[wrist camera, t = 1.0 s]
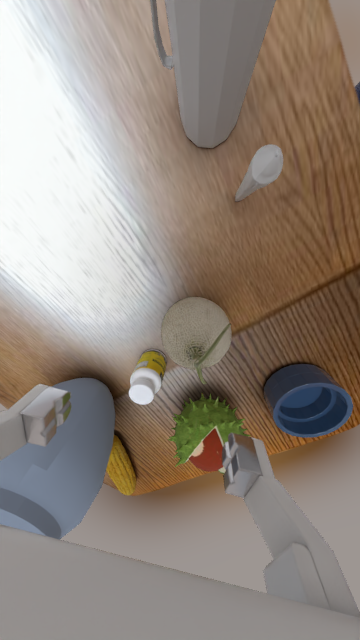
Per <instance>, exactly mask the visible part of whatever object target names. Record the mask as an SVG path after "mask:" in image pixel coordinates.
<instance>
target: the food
mask: <svg viewBox="0 0 360 640" xmlns="http://www.w3.org/2000/svg"><path fill="white" fill-rule="evenodd" d="M106 471H107V472H108V474H109V477H110V478H111V479H112V480H113V482H114V483H115V485H116V487H117V488H118V489H119V491H120V492H121V493H122V494H125V495H130V494H132V493H133V492H134V490H135V487H136V476H135V473H134V470H133V467H132V464H131V462H130V459H129V457H128V455H127V453H126V451H125V449H124V448H123V445H122V443H121V441H120V440H119V438H118V437H117V436H116V435H114V438H113V446H112V449H111V453H110V457H109V461H108V464H107V468H106Z"/></svg>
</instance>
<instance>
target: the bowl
mask: <svg viewBox="0 0 360 640" xmlns="http://www.w3.org/2000/svg"><path fill="white" fill-rule="evenodd" d="M264 398H265V401H266V403H267V405H268V408H269V410H270V412H271V414H272V417H273V419H274V421H275V423H276V425H277V426H278V427H279V428H280V429H281V430H282V431H284V432H285V433H288V434H290V435H293V436H297V437H317V436H322V435H326V434H328V433H331V432H333V431H335V430H337V429H338V428H339V427H341V426H342V425H343V424H344V423H345V422H346V421H347V420H348V418H349V417H350V415H351V413H352V408H353V403H352V400H351V397H350V395H349V394H348V393H347V392H346V391H345V390H344V389H343V388H342V387H341V386H340V385H339V384H338V383H337V382H336V381H335V380H334V379H333V378H332V377H331V376H330V375H329V374H328V373H327V372H326V371H325V370H323V369H321V368H319V367H317V366H315V365H309V364H296V365H290V366H287V367H285V368H282V369H280V370H279V371H277V372H276V373H274V374H273V375H272V376H271V377H270V378H269V379H268V381H267V382H266V385H265V387H264Z"/></svg>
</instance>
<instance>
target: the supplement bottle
mask: <svg viewBox="0 0 360 640" xmlns="http://www.w3.org/2000/svg"><path fill="white" fill-rule="evenodd" d="M166 364H167V360H166V357H165V355H164V354H163V353H162V352H161V351H159V350H156V349H150V350H147V351H145V352H144V353H143V354H142V356H141V357H140V359H139V361H138V363H137V365H136V367H135V369H134V371H133V373H132V375H131V378H130V384H131V387H130V390H129V396H130V398H131V400H132V401H134V402H135V403H137V404H142V405H144V404H148V403H150V402H151V401H152V400H153V398H154V395H155V393H157V392H158V391H159V389H160V387H161V384H162V380H163V376H164V372H165V368H166Z"/></svg>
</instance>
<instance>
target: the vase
mask: <svg viewBox="0 0 360 640" xmlns="http://www.w3.org/2000/svg"><path fill="white" fill-rule="evenodd" d="M52 387H54V388H57V389H61V390H64V391H68V392H71V398H70V399H69V401H70V402H71V411H70V413H69V415H68V418H67V419H66V420H65V422H64V423H63V424H62V425H60V426H58V427H57V429H56V434H55V435H54V436H53V438H52V439H51V440H50V441H49V443H48V444H47V445H46V447H45V446H40V445H36V444H31V443H27V444H26V445H24V446H22V447H21V448H19V449H18V450H16V451H15V452H13V453H11V454H10V455H8V456H7V457H5V458H4V459H2V460H1V461H0V524H2V525H6V526H10V527H13V528H17V529H21V530H25V531H29V532H33V533H36V534H40V535H44V536H48V537H52V538H56V539H59V540H60V539H61V538H62V537H63V536H64V535H66V534H67V533H68V532H70V531H71V530H72V529H73V528H75V527H76V526H77V525H78V524H79V523H80V522H81V521H82V519H83V518H84V516H85V514H86V513H87V511H88V509H89V507H90V506H91V504H92V502H93V501H94V499H95V497H96V496H97V494H98V492H99V490H100V488H101V486H102V483H103V480H104V476H105V472H106V468H107V464H108V461H109V457H110V453H111V449H112V446H113V438H114V426H115V408H114V402H113V397H112V395H111V393H110V390H109V389H108V387H107V386H106V385H105V384H104V383H102V382H101V381H99V380H97V379H93V378H76V379H72V380H69V381H65V382H61V383H58V384H56V385H54V386H52Z"/></svg>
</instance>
